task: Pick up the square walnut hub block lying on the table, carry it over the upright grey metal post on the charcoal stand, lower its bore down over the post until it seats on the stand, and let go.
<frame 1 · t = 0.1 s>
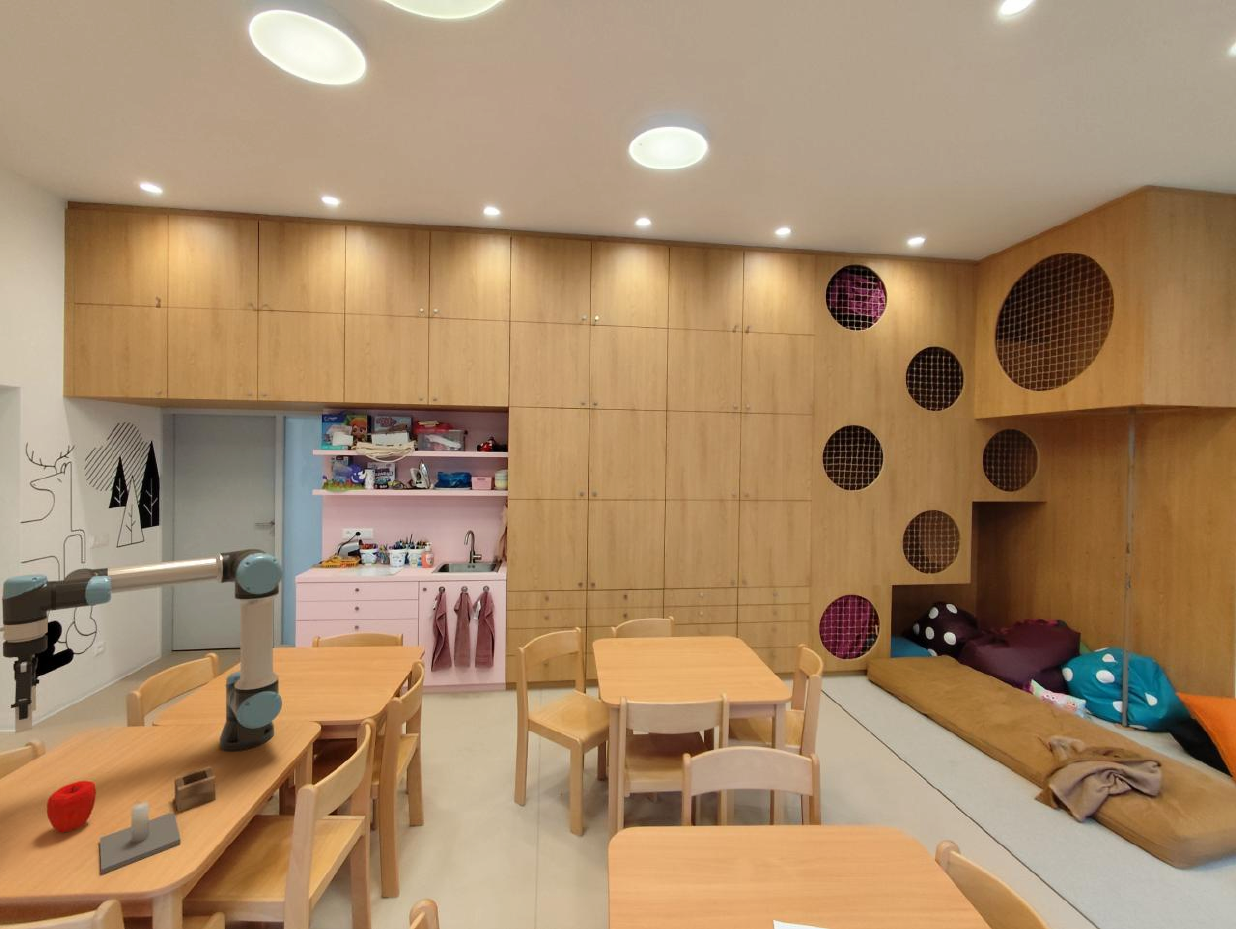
hand: (26, 721, 135), 28 cm above the table, fingers open, 13 cm apart
stand: (140, 843, 131), on the table
hub: (195, 798, 148), on the table
apple: (71, 828, 136), on the table
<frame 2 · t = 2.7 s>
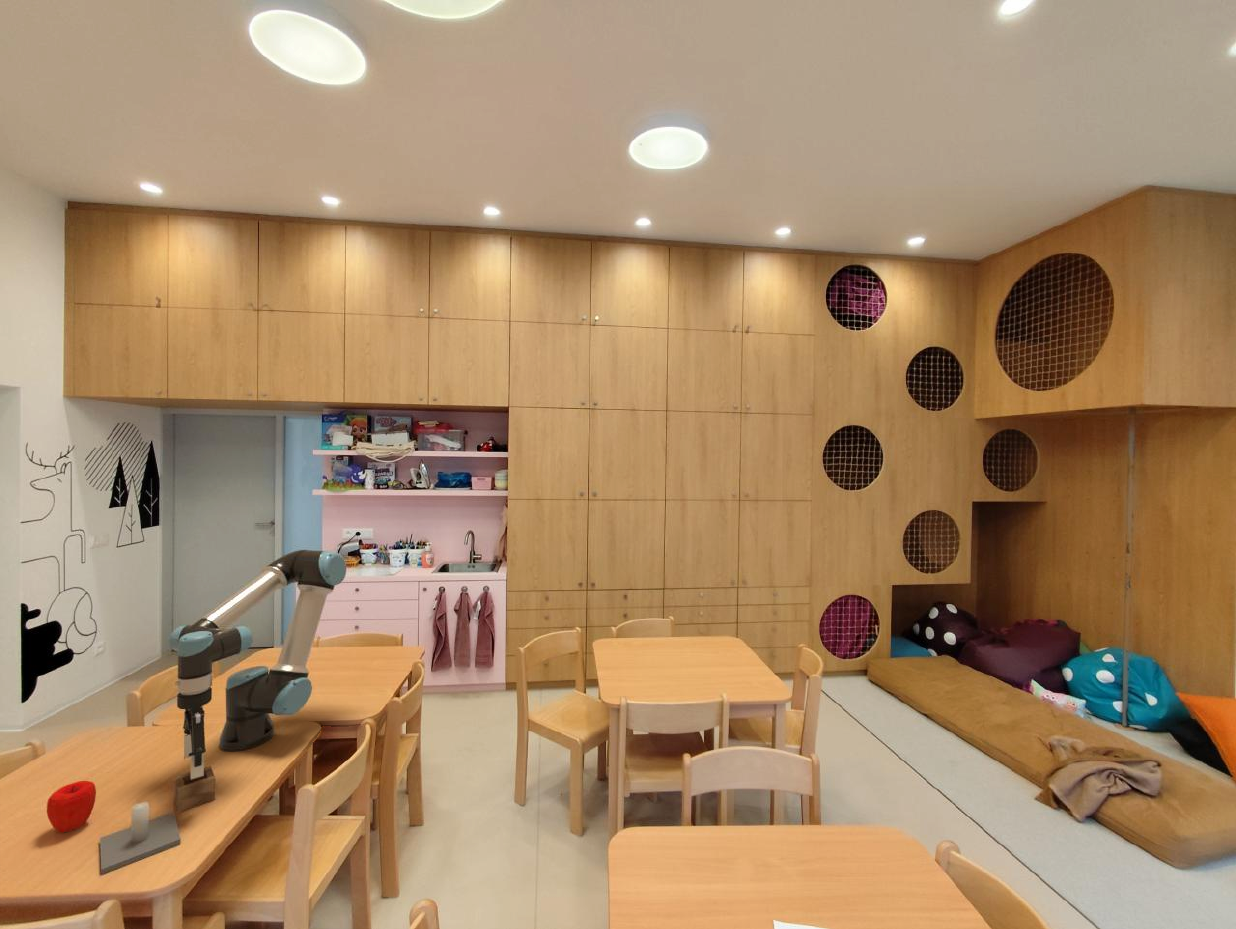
hand: (193, 766, 148), 9 cm above the table, fingers open, 13 cm apart
nothing on the table moved.
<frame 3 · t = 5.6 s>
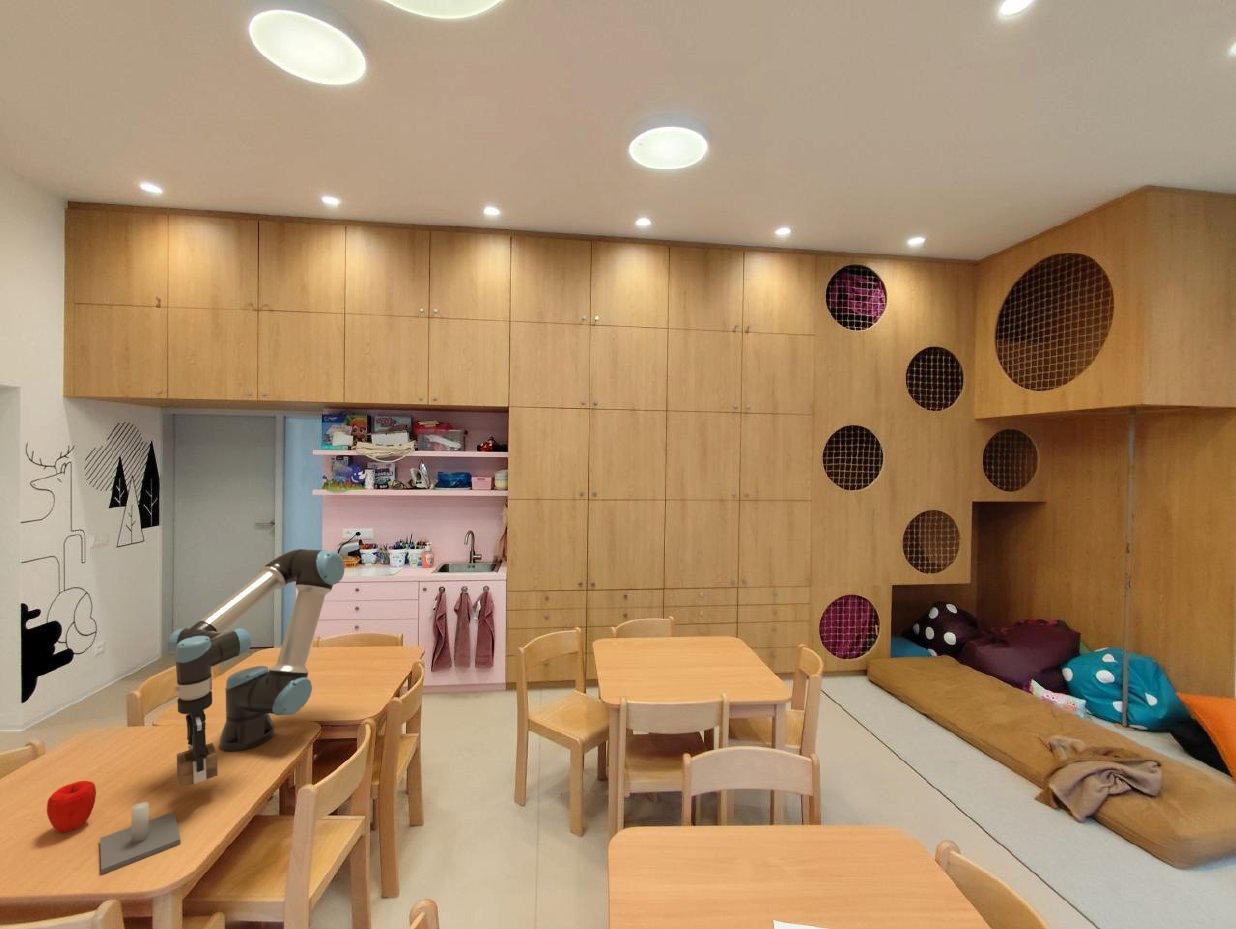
hand: (197, 773, 149), 7 cm above the table, fingers closed on hub, 8 cm apart
hub: (197, 775, 149), point 6 cm above the table, touching gripper
everything else where it was.
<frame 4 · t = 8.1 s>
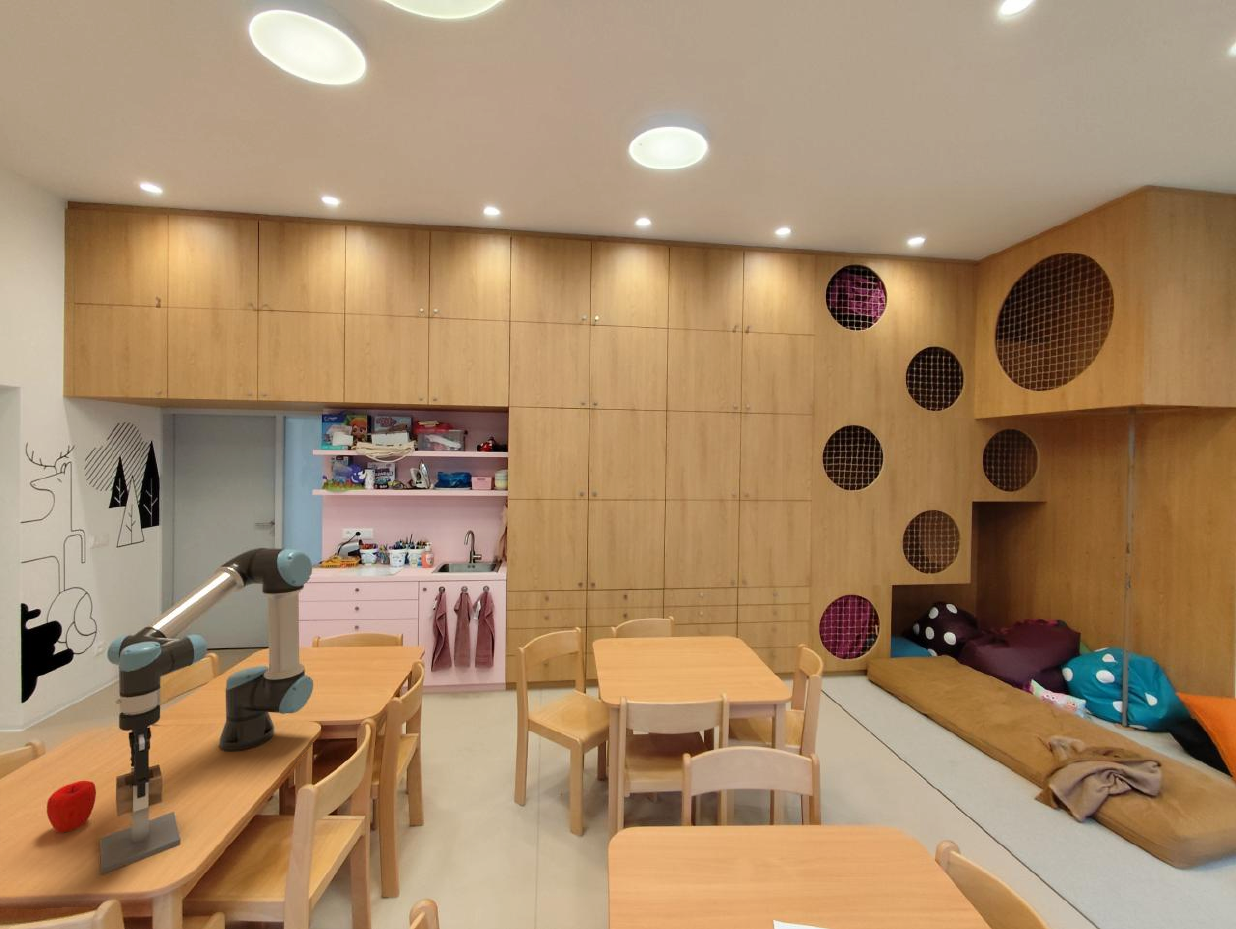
hand: (139, 800, 131), 11 cm above the table, fingers closed on hub, 8 cm apart
hub: (138, 801, 131), point 11 cm above the table, touching gripper
everything else where it was.
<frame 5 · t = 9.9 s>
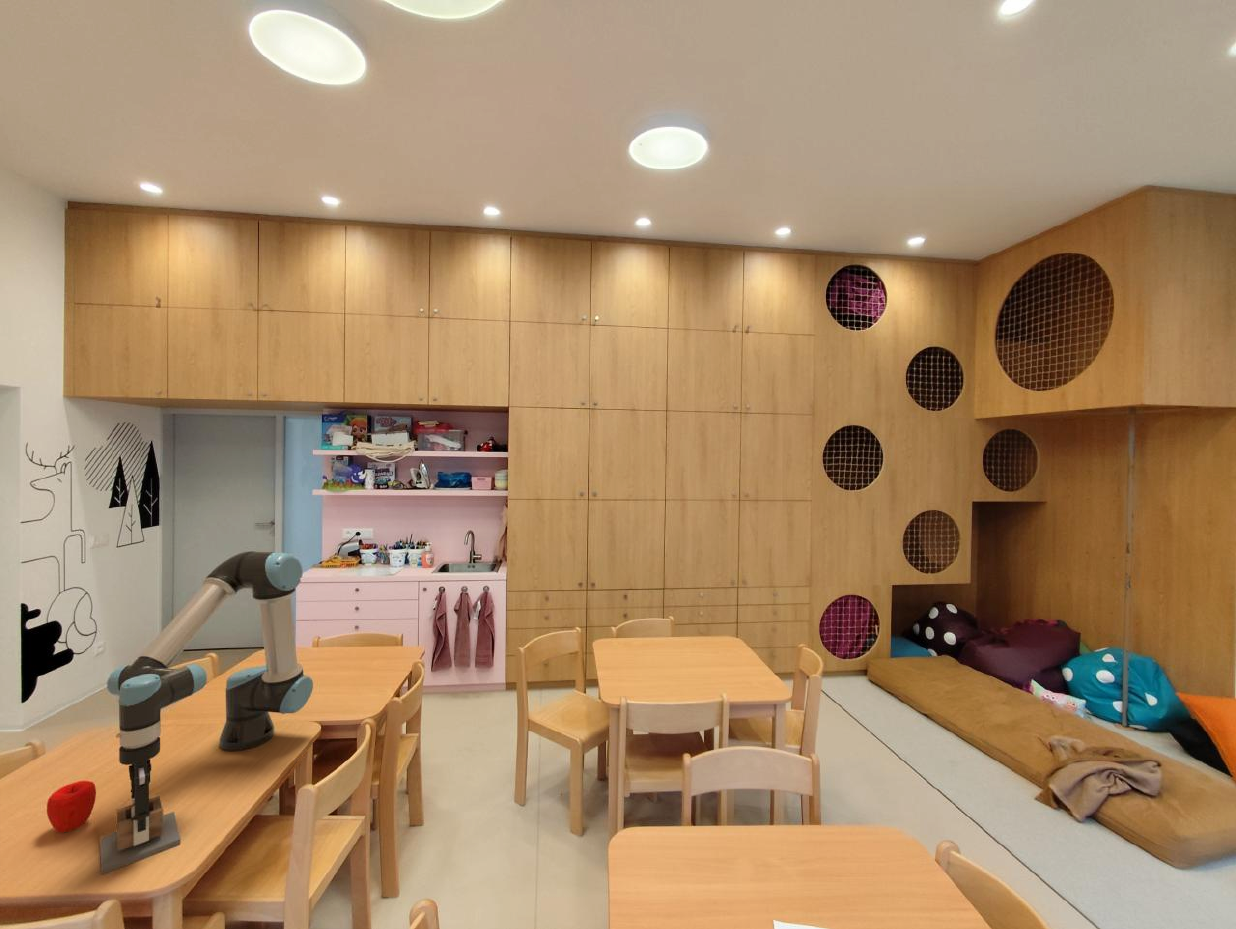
hand: (139, 833, 131), 3 cm above the table, fingers closed on hub, 8 cm apart
hub: (139, 834, 131), point 2 cm above the table, touching gripper
everything else where it was.
when the fingers open (2 cm above the table, at t = 11.0 s): hub stays where it is, resting on stand.
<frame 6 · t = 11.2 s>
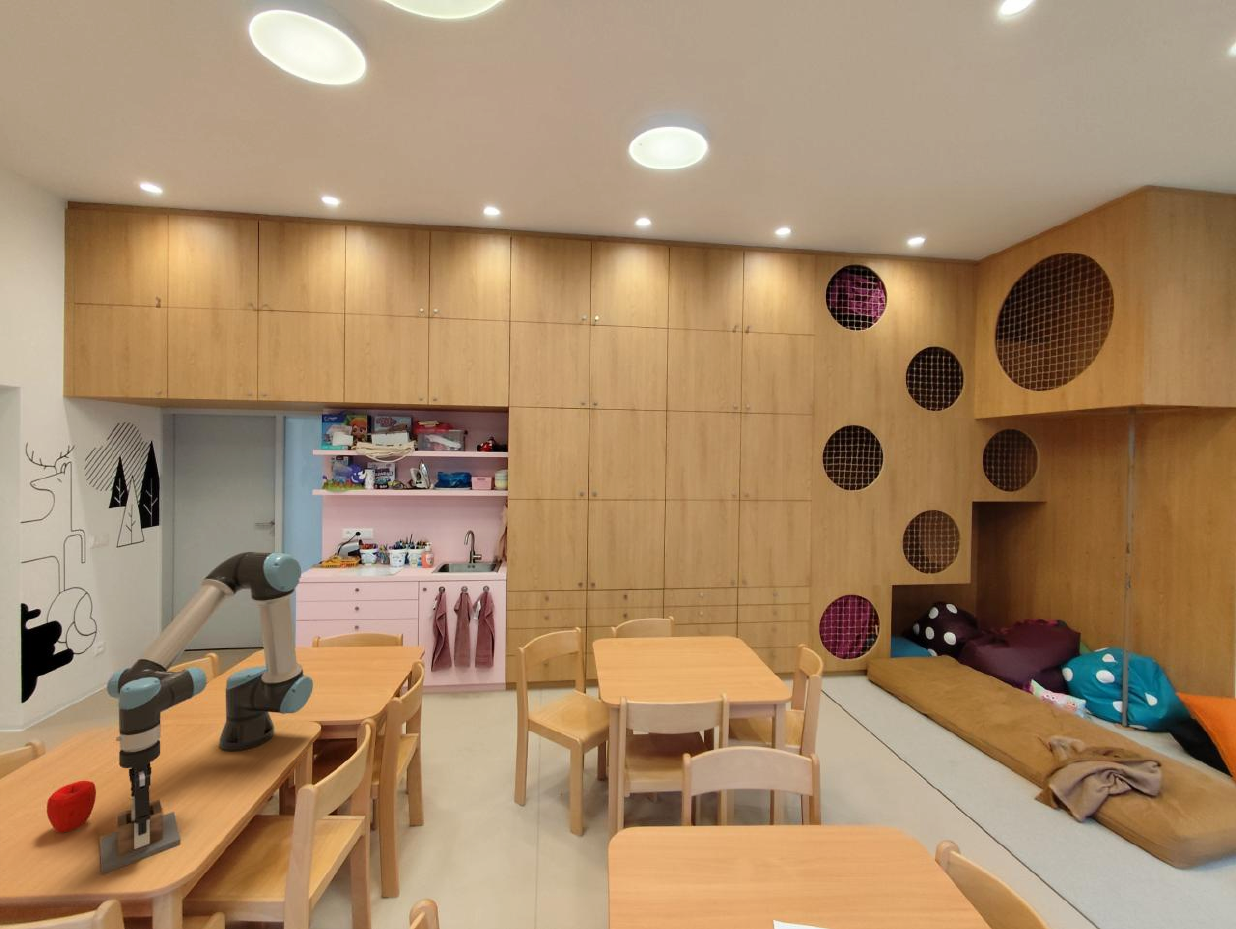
hand: (140, 833, 131), 2 cm above the table, fingers open, 10 cm apart
hub: (139, 838, 131), point 1 cm above the table, touching stand
everything else where it was.
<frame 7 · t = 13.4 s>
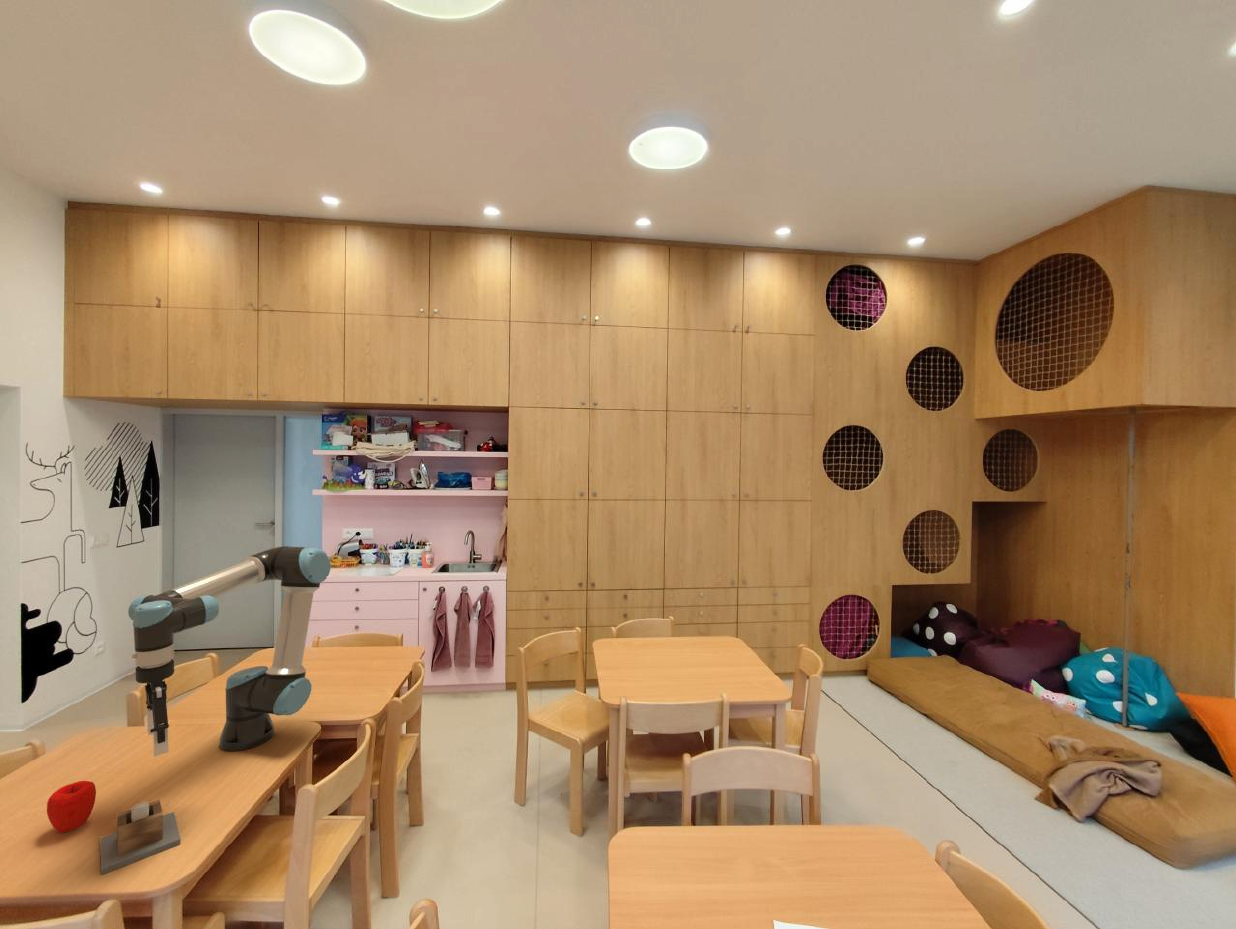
hand: (158, 743, 138), 21 cm above the table, fingers open, 13 cm apart
nothing on the table moved.
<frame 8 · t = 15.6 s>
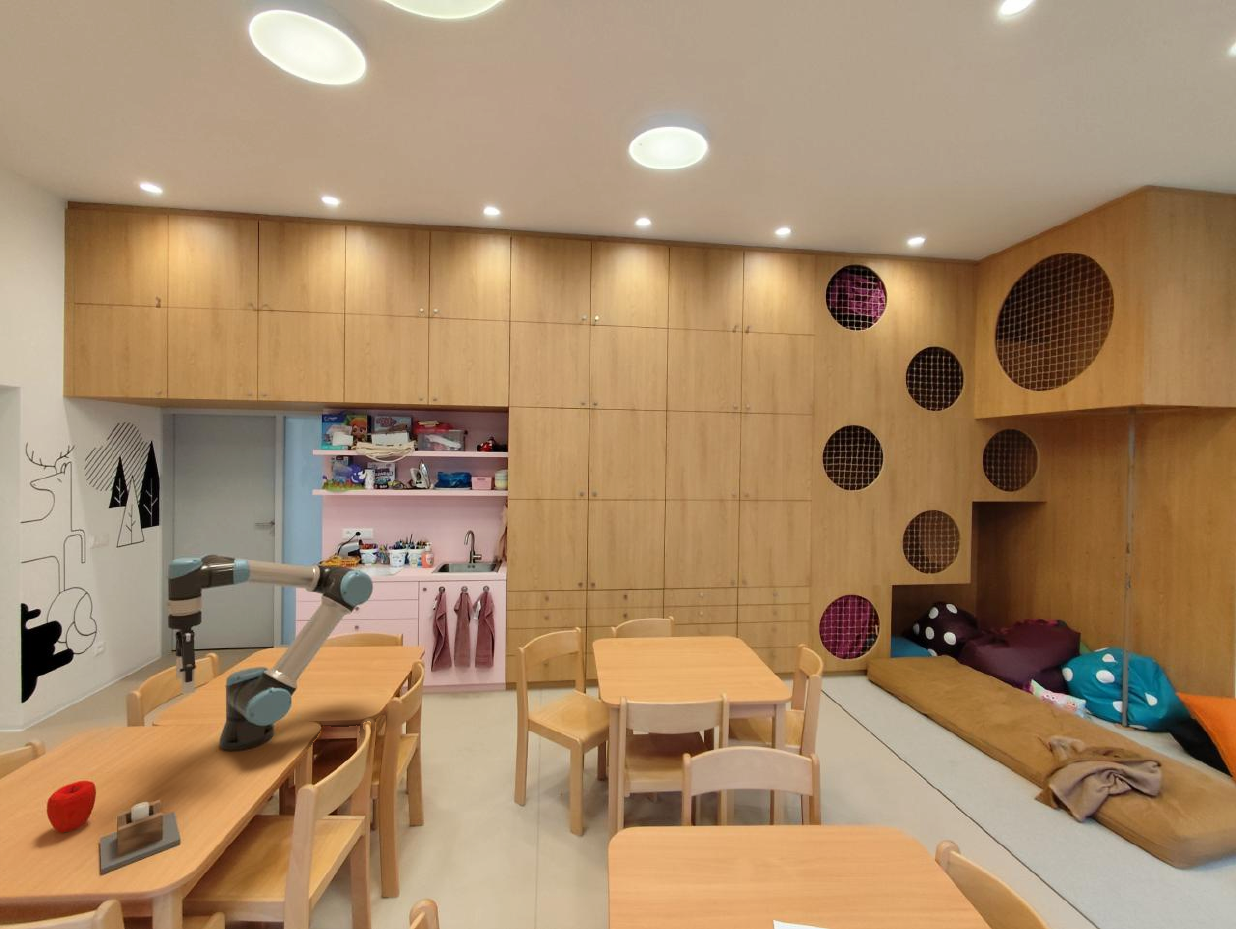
hand: (185, 685, 155), 29 cm above the table, fingers open, 13 cm apart
nothing on the table moved.
at the end: hub 0.1 cm off-centre on the stand, point 1.2 cm above the stand's base; the gripper is holding nothing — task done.
